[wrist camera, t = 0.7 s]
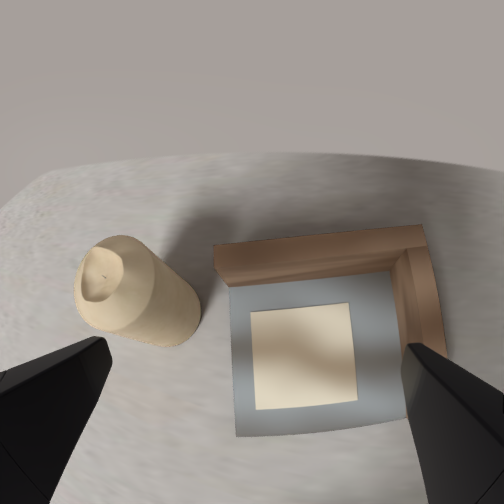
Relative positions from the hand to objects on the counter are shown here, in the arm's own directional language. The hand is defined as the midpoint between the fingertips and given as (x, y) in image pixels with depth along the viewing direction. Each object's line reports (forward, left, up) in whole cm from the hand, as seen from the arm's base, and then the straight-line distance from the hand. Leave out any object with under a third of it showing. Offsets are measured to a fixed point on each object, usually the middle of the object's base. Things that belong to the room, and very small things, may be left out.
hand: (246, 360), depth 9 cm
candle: (+5, +8, -14) cm, 17 cm away
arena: (+1, -4, -14) cm, 15 cm away
